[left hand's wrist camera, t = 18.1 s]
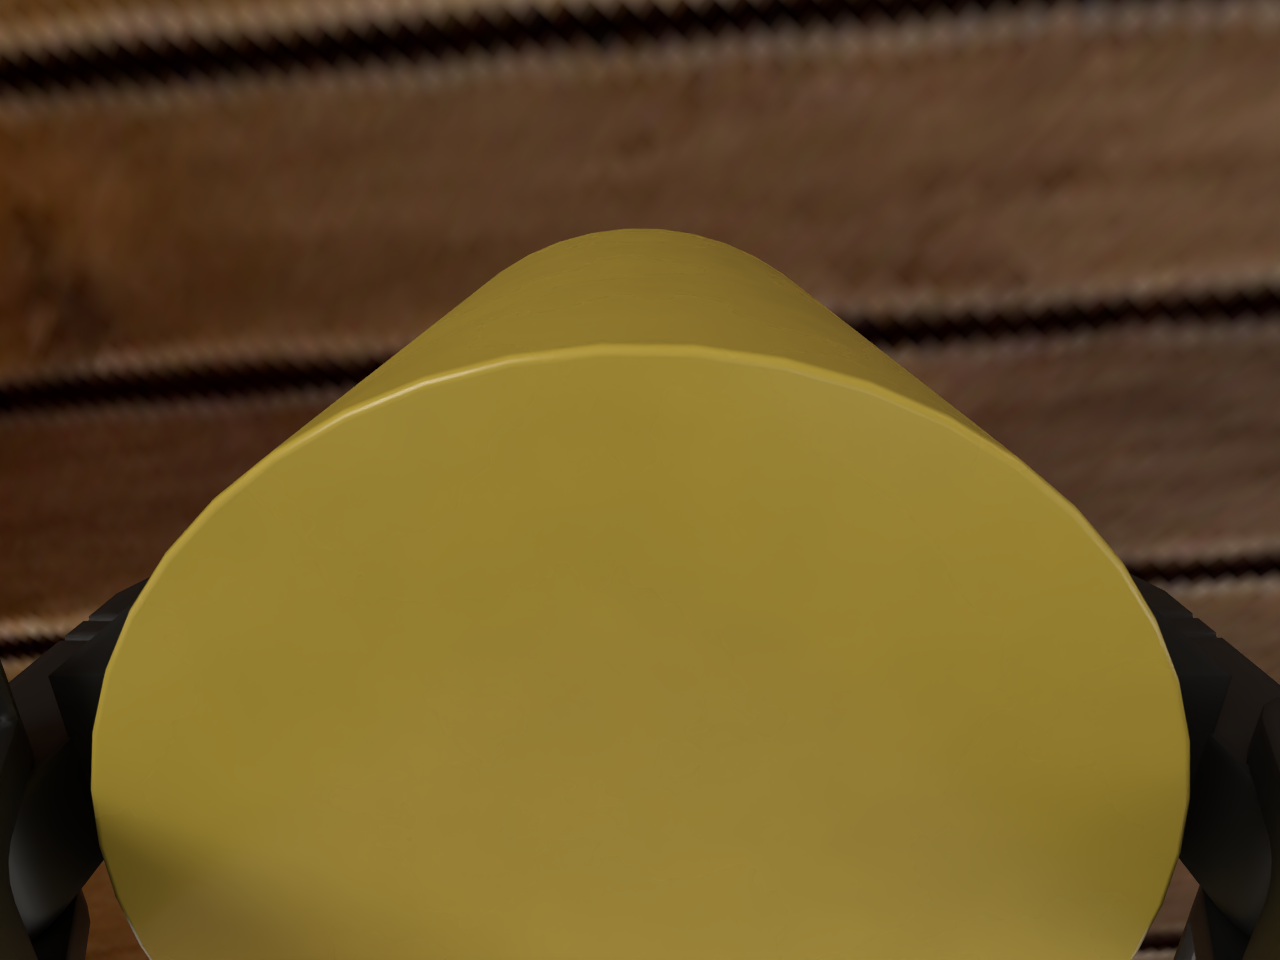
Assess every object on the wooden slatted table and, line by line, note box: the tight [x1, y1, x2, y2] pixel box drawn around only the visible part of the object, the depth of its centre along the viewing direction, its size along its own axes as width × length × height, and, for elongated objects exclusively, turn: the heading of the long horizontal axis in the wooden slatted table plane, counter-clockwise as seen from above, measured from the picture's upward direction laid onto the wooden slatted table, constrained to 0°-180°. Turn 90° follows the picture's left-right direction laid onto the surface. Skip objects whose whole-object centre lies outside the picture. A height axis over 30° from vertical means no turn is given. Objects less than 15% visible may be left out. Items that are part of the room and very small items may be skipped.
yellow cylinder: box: [91, 229, 1190, 960], centre depth 11 cm, size 9×9×10 cm
